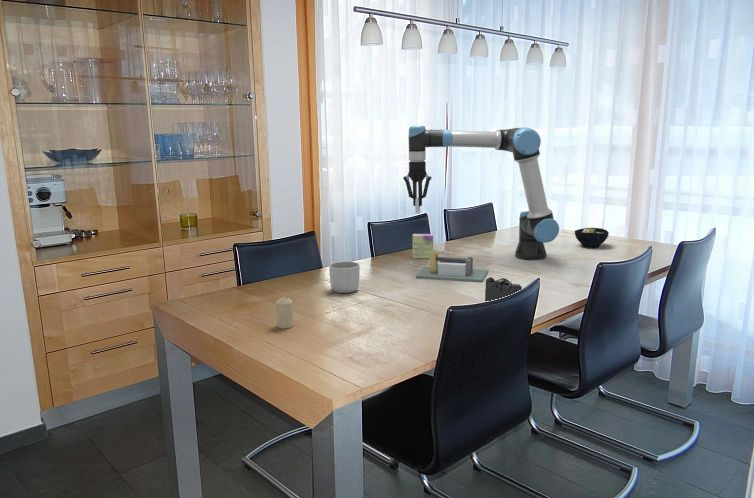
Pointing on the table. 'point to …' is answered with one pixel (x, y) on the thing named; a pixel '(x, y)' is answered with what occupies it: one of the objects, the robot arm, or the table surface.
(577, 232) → the bowl
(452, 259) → the strap
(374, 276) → the table surface
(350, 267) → the planter
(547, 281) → the table surface
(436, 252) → the notched wooden block
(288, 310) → the candle
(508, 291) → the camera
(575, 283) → the table surface
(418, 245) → the box
